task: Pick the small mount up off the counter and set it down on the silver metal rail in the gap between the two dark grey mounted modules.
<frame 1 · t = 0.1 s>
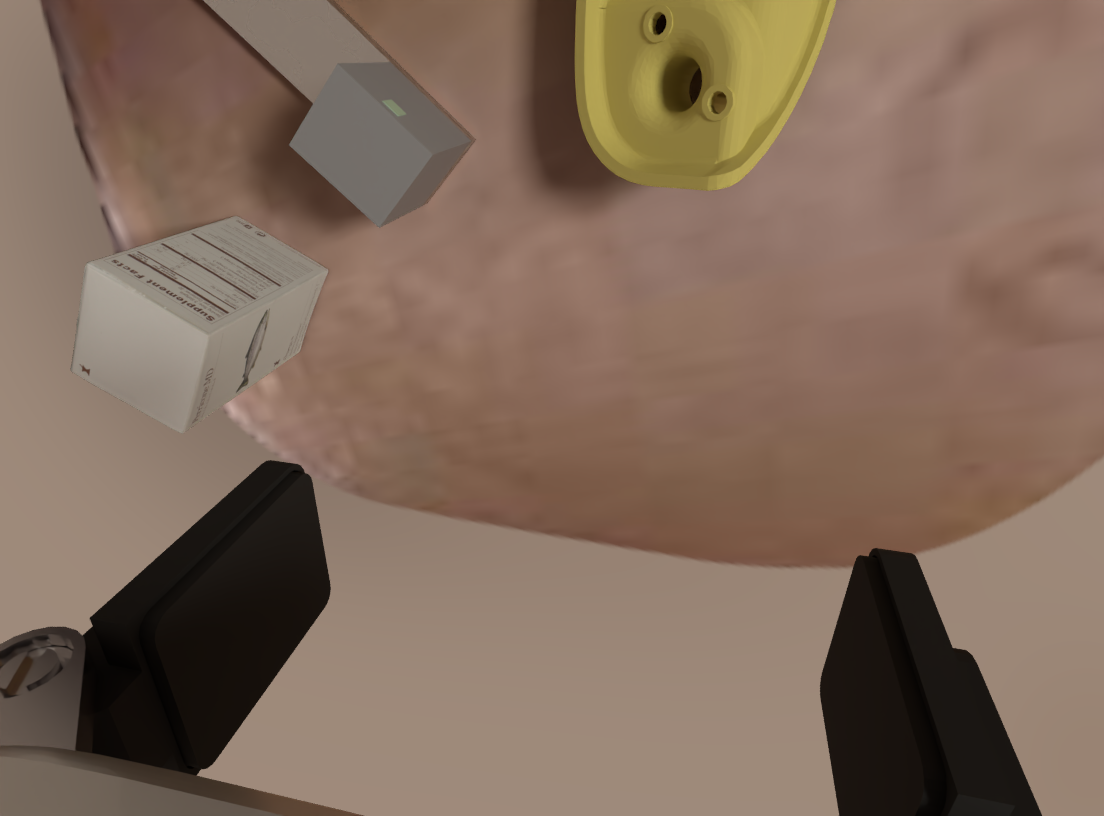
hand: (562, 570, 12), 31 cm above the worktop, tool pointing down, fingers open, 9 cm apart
supplement box: (272, 284, 47), on the worktop
module b: (407, 137, 39), resting on rail
rail: (277, 6, 38), on the worktop
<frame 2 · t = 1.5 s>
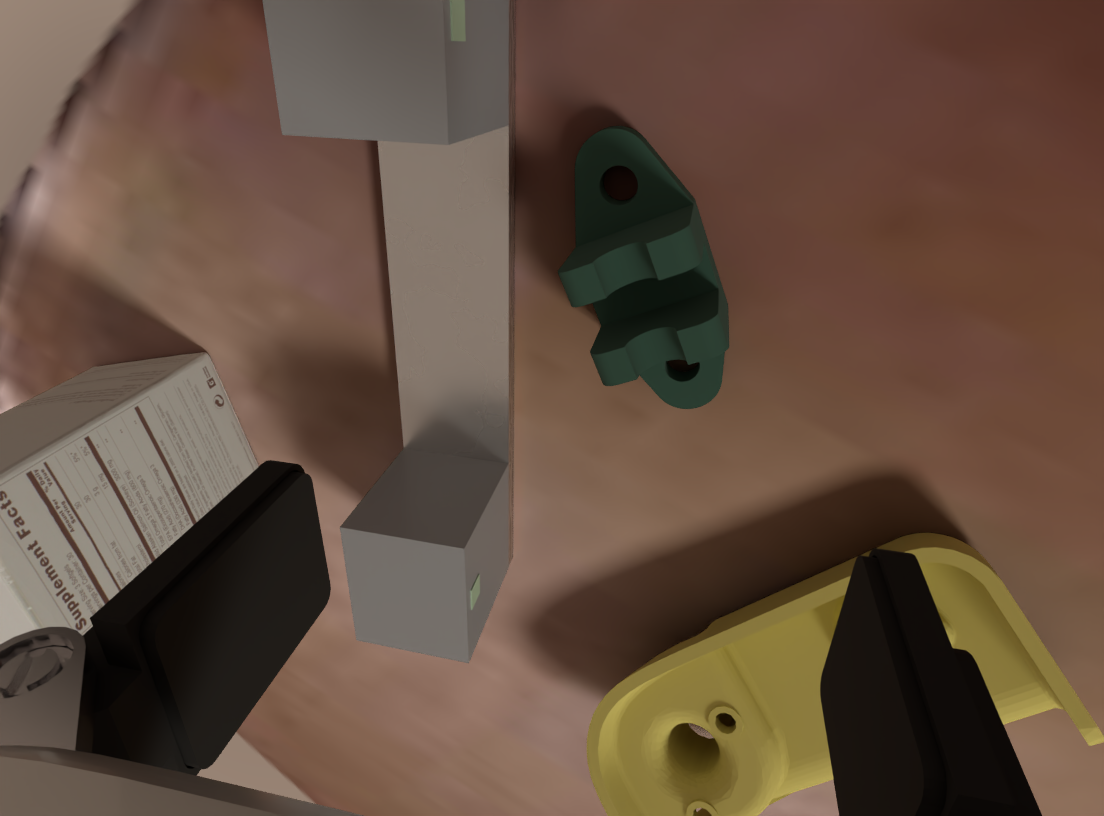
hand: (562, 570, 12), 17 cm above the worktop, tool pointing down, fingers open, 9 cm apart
supplement box: (185, 420, 35), on the worktop
module b: (457, 509, 32), resting on rail
rail: (455, 302, 28), on the worktop
mount: (655, 269, 26), on the worktop
module a: (436, 24, 23), resting on rail
plastic component: (799, 651, 33), on the worktop
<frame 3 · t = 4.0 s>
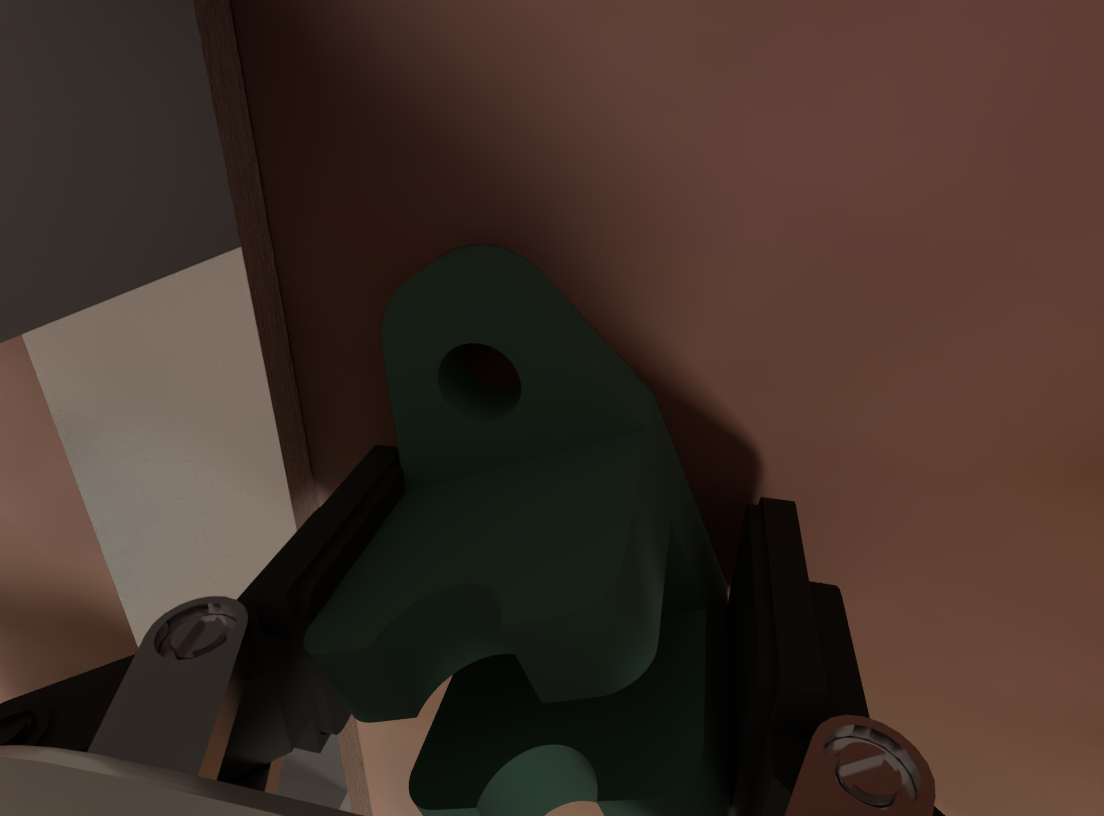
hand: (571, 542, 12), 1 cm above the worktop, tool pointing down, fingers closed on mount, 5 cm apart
rail: (224, 540, 15), on the worktop
mount: (580, 514, 13), on the worktop, touching gripper
module a: (45, 26, 10), resting on rail
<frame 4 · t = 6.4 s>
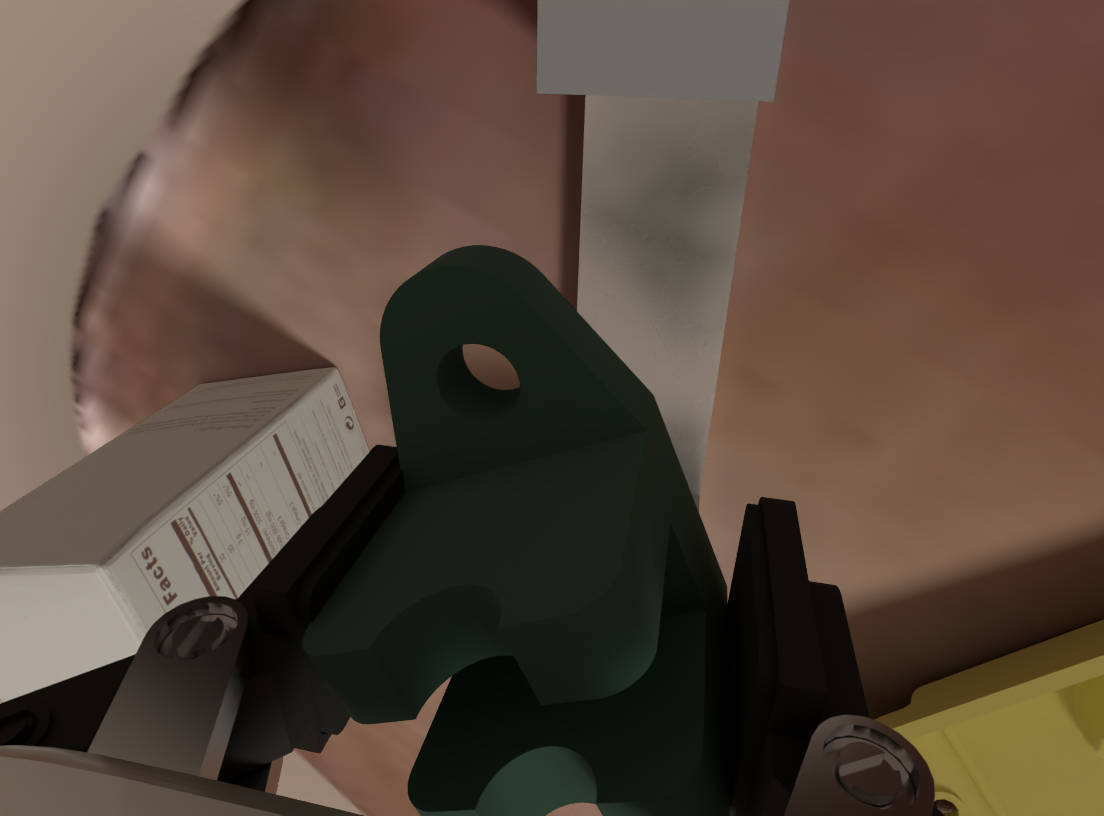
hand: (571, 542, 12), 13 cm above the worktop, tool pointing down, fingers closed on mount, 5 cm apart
supplement box: (301, 444, 30), on the worktop
rail: (651, 307, 23), on the worktop
mount: (579, 515, 13), point 12 cm above the worktop, touching gripper
plastic component: (1010, 719, 29), on the worktop
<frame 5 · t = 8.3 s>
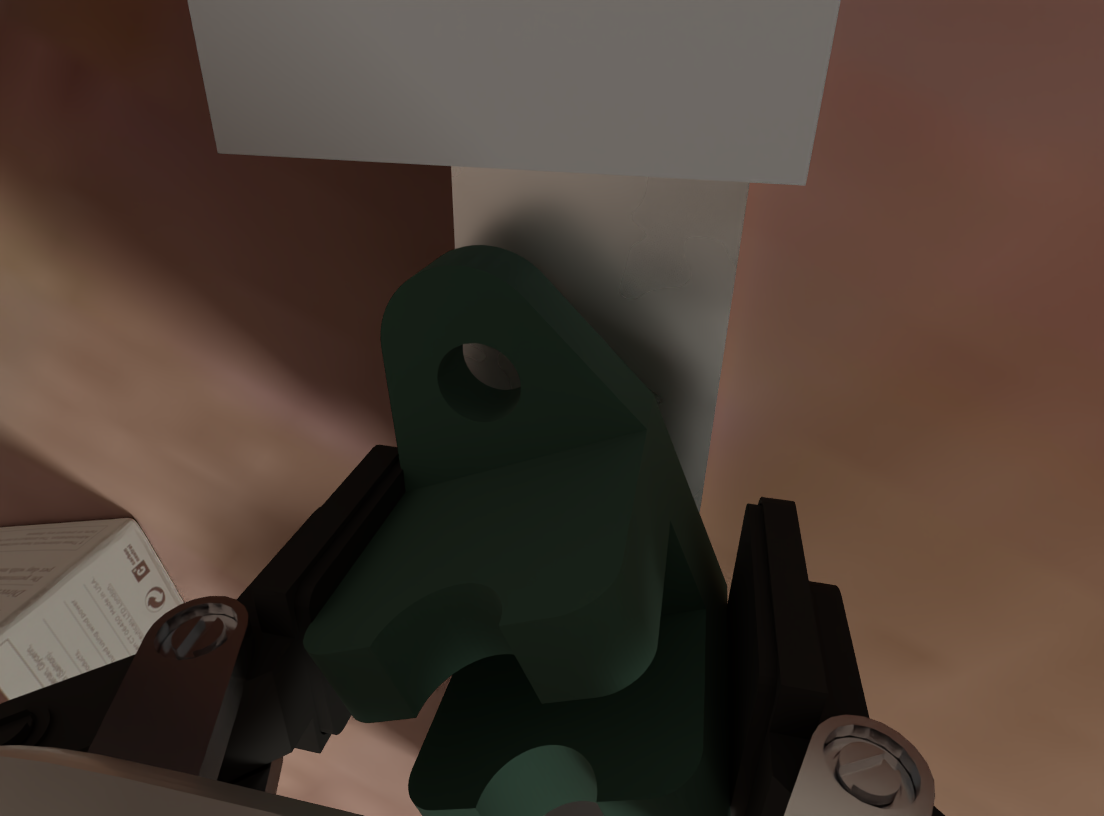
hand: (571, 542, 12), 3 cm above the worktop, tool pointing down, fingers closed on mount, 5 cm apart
supplement box: (108, 609, 21), on the worktop
module b: (565, 780, 19), resting on rail
rail: (586, 459, 15), on the worktop
mount: (580, 514, 13), point 2 cm above the worktop, touching gripper
when the fingers open (3 cm above the worktop, at t = 9.0 s): mount drops 1 cm, resting on rail.
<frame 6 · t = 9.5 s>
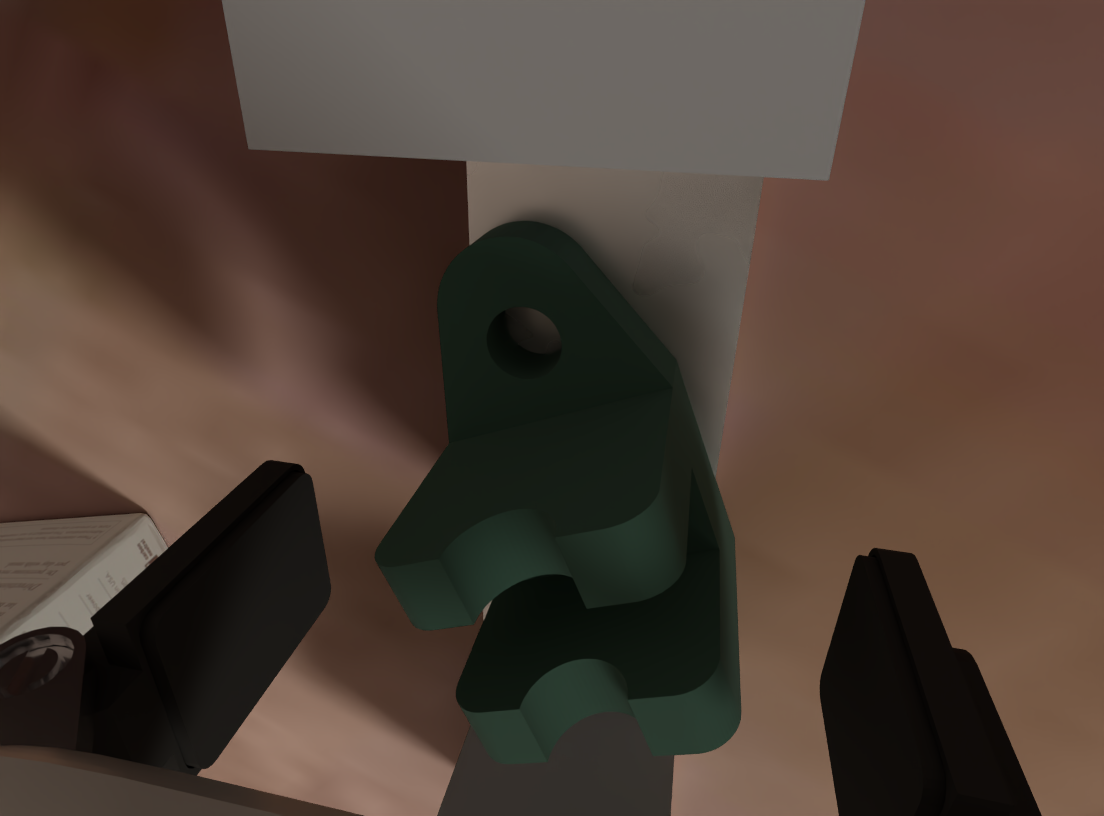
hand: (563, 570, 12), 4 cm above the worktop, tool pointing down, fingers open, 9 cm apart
supplement box: (120, 604, 21), on the worktop
module b: (574, 775, 19), resting on rail
rail: (597, 456, 15), on the worktop
mount: (603, 470, 14), point 1 cm above the worktop, touching rail
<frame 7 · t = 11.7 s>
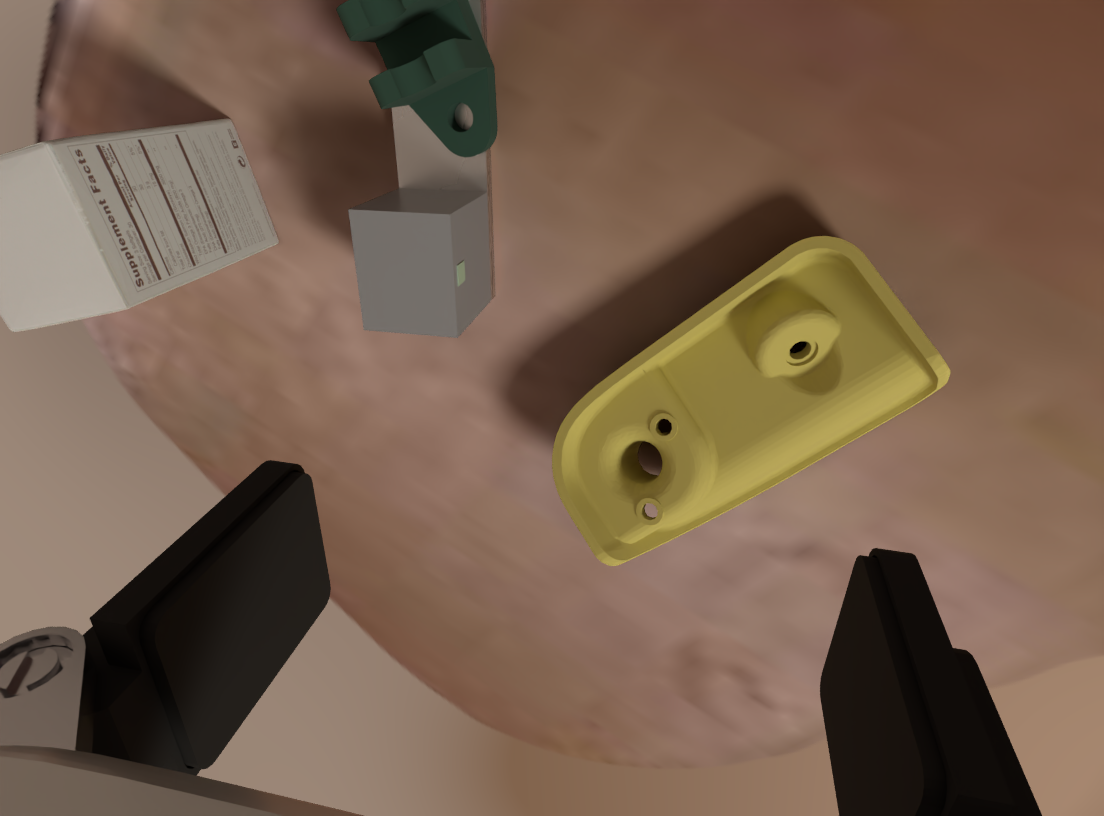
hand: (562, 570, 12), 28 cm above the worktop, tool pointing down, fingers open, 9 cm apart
supplement box: (211, 194, 40), on the worktop
module b: (446, 245, 38), resting on rail
rail: (438, 43, 34), on the worktop
mount: (438, 42, 33), point 1 cm above the worktop, touching rail
plastic component: (727, 385, 39), on the worktop
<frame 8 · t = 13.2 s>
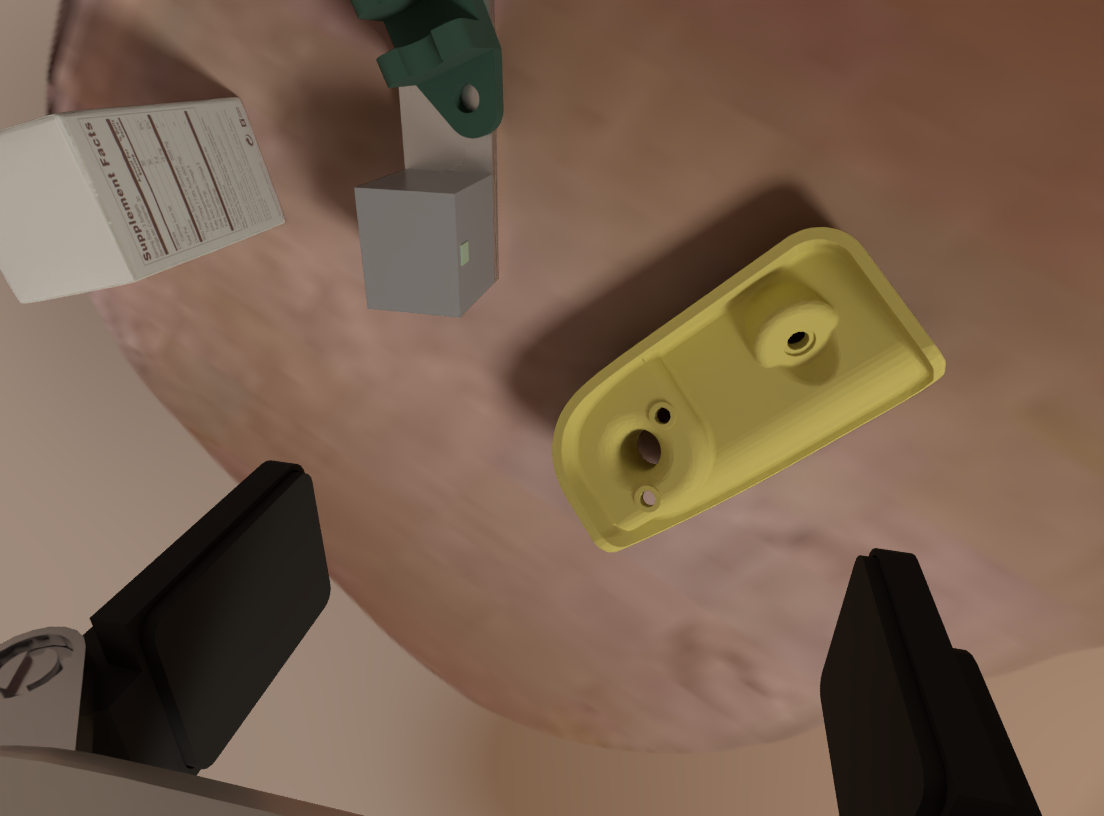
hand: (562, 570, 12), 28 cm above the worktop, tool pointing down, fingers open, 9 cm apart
supplement box: (219, 172, 41), on the worktop
module b: (450, 227, 38), resting on rail
rail: (446, 23, 34), on the worktop
mount: (446, 22, 33), point 1 cm above the worktop, touching rail
plastic component: (727, 375, 40), on the worktop
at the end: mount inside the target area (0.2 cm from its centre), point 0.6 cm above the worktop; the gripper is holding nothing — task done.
